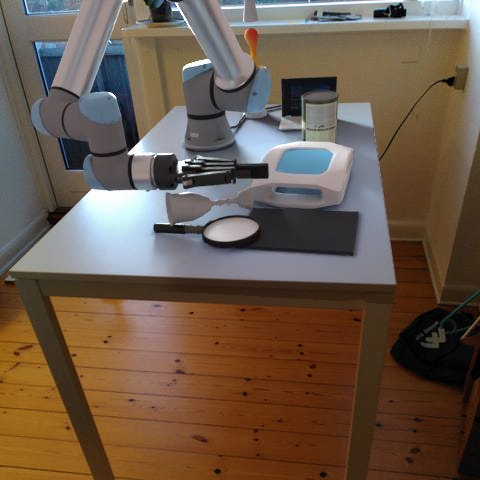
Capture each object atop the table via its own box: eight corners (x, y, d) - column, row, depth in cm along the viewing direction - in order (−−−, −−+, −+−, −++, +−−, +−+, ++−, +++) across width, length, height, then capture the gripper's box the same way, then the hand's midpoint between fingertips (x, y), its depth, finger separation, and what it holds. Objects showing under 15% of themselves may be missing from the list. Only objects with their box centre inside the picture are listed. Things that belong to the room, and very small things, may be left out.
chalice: (245, 175, 113) (164, 185, 108) (255, 191, 108) (171, 202, 104) (244, 205, 118) (166, 215, 113) (253, 221, 113) (173, 232, 109)
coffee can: (294, 145, 153) (293, 95, 144) (320, 137, 157) (322, 88, 148) (316, 154, 145) (317, 102, 137) (344, 145, 150) (346, 94, 141)
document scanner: (352, 165, 137) (354, 141, 133) (339, 211, 116) (341, 184, 112) (275, 162, 142) (274, 140, 139) (249, 206, 121) (248, 180, 117)
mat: (253, 210, 119) (252, 207, 119) (358, 214, 114) (358, 211, 113) (234, 248, 106) (234, 245, 105) (353, 255, 100) (353, 252, 100)
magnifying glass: (167, 219, 119) (165, 211, 117) (267, 223, 111) (266, 214, 110) (143, 245, 109) (141, 236, 108) (251, 251, 102) (250, 242, 101)
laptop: (278, 131, 164) (277, 87, 156) (281, 119, 174) (280, 78, 166) (335, 130, 161) (337, 85, 154) (335, 118, 171) (337, 75, 163)
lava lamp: (244, 111, 185) (237, -3, 164) (269, 110, 183) (265, -5, 162) (240, 118, 178) (232, 0, 157) (266, 118, 176) (261, -1, 155)
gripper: (168, 177, 116) (272, 176, 112) (151, 201, 106) (265, 201, 102) (162, 143, 112) (271, 141, 108) (145, 166, 101) (263, 164, 98)
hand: (268, 171), depth 105 cm, fingers closed
